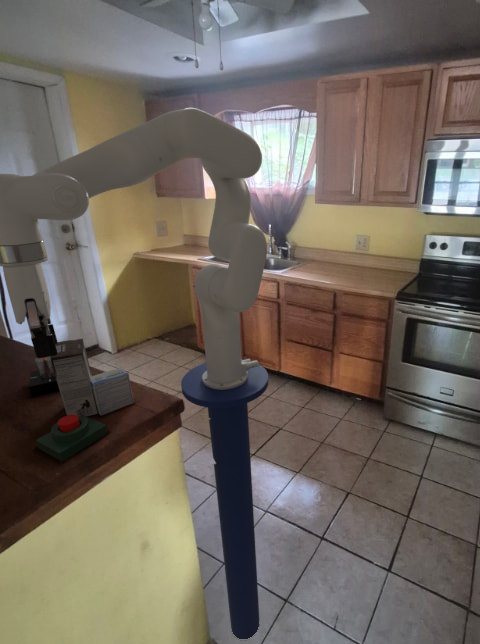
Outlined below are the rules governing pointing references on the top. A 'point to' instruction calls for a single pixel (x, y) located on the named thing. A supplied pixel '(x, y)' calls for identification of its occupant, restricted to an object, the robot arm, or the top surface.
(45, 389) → the dial panel
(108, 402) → the medicine box
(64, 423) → the light button
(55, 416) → the top surface
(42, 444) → the switch block
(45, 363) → the dial
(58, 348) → the coffee box
